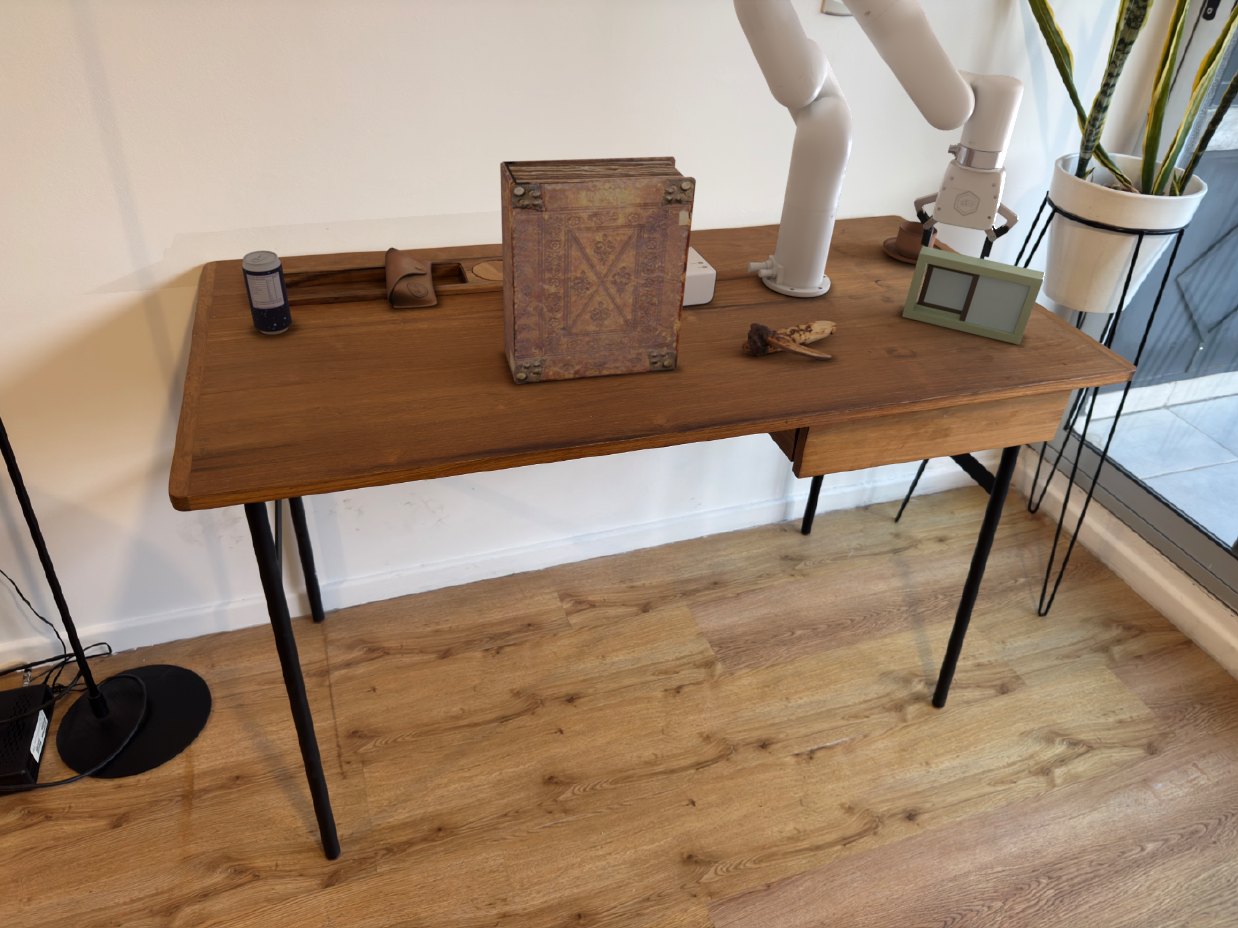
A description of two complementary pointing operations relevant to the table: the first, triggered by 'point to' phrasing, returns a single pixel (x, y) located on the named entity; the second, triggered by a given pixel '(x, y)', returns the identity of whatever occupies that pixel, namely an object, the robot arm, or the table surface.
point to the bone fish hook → (788, 339)
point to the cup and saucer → (908, 242)
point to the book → (593, 265)
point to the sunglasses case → (408, 280)
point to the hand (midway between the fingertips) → (953, 254)
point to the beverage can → (266, 292)
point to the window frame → (980, 296)
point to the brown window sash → (945, 289)
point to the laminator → (699, 280)
